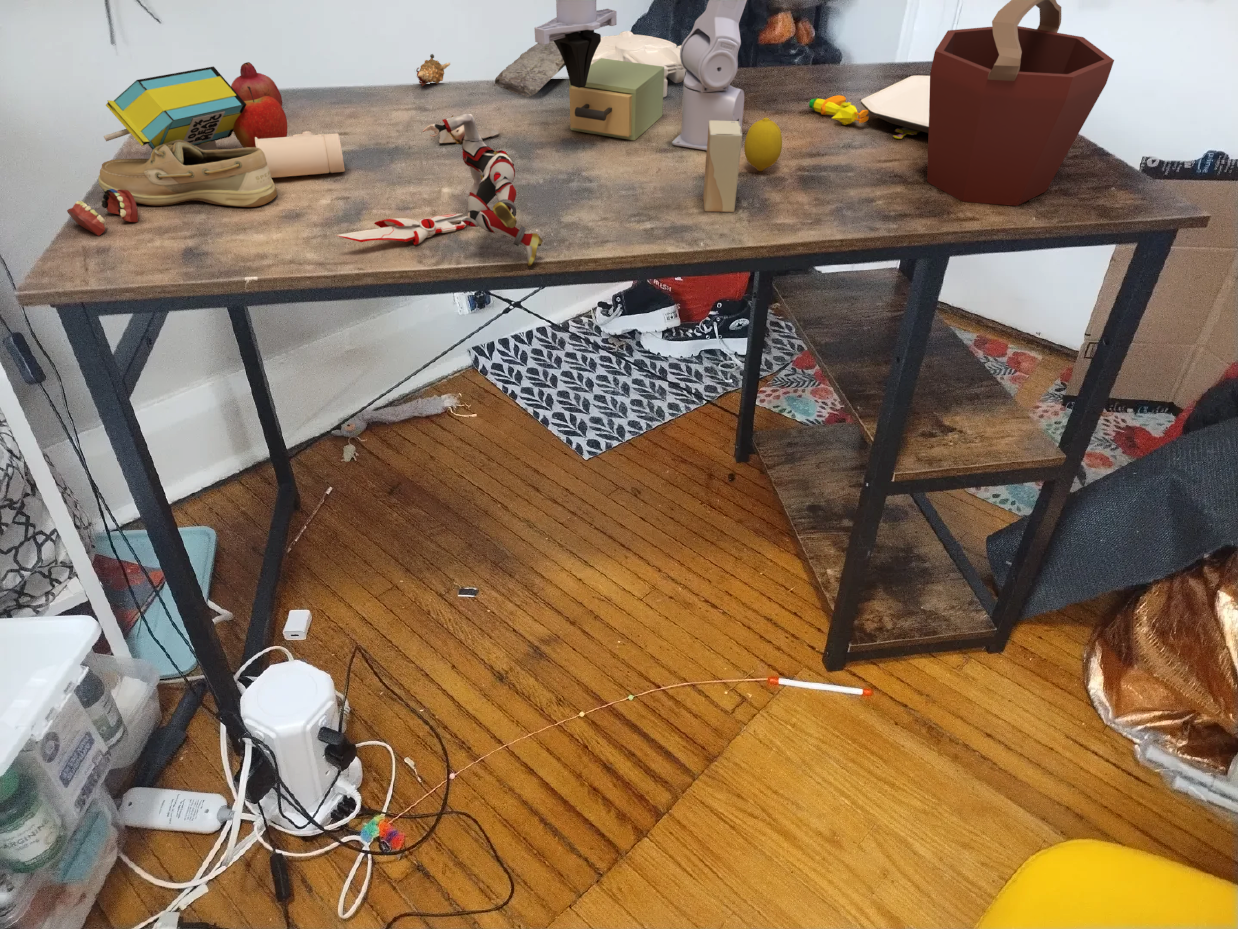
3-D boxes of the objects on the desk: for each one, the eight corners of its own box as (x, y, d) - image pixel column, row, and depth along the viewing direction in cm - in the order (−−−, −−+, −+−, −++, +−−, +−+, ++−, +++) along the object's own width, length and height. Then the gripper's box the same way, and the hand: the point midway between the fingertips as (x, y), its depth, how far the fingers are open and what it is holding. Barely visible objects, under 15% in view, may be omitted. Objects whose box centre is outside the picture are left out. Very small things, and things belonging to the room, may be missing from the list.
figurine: (397, 82, 161) (413, 103, 163) (415, 70, 158) (431, 92, 160) (435, 48, 169) (449, 69, 171) (452, 37, 166) (467, 58, 168)
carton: (195, 102, 135) (89, 124, 121) (212, 64, 130) (103, 83, 116) (229, 141, 135) (127, 167, 122) (247, 105, 130) (143, 128, 117)
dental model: (56, 197, 116) (115, 179, 121) (68, 227, 119) (125, 208, 124) (78, 210, 114) (137, 191, 119) (89, 240, 117) (147, 221, 121)
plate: (1014, 162, 136) (1019, 148, 134) (845, 117, 149) (848, 103, 148) (1073, 118, 153) (1078, 105, 152) (917, 82, 167) (920, 69, 166)
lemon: (777, 164, 137) (784, 111, 132) (779, 179, 133) (786, 125, 127) (741, 163, 137) (747, 110, 132) (742, 177, 133) (747, 123, 128)
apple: (249, 168, 134) (231, 100, 128) (233, 151, 139) (215, 85, 133) (301, 156, 138) (286, 90, 131) (284, 140, 143) (268, 75, 136)
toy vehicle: (547, 31, 169) (549, 66, 173) (599, 74, 152) (599, 111, 156) (657, 15, 176) (656, 48, 180) (719, 54, 159) (716, 90, 163)
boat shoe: (92, 202, 124) (70, 145, 119) (126, 176, 131) (107, 121, 126) (262, 215, 123) (248, 158, 117) (288, 188, 129) (275, 133, 124)
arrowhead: (439, 148, 142) (501, 145, 144) (439, 141, 141) (501, 137, 143) (436, 130, 145) (496, 127, 147) (435, 123, 144) (496, 120, 146)
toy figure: (880, 119, 149) (830, 104, 157) (880, 98, 147) (830, 83, 155) (849, 134, 147) (801, 118, 155) (849, 112, 145) (800, 97, 153)
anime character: (372, 317, 101) (314, 199, 115) (458, 374, 114) (396, 261, 127) (519, 179, 97) (440, 73, 110) (591, 255, 110) (512, 151, 123)
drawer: (619, 145, 140) (619, 104, 136) (559, 135, 143) (558, 95, 139) (654, 114, 151) (655, 75, 147) (598, 105, 154) (598, 67, 150)
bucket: (998, 231, 120) (1057, 33, 104) (868, 179, 133) (902, -4, 117) (1093, 181, 132) (1159, -4, 115) (965, 137, 145) (1008, -34, 128)
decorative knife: (928, 117, 152) (952, 125, 149) (927, 120, 152) (951, 128, 149) (883, 131, 146) (907, 140, 143) (883, 134, 147) (907, 143, 144)
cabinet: (634, 140, 144) (635, 89, 139) (570, 130, 148) (568, 79, 142) (662, 115, 153) (664, 66, 148) (601, 106, 156) (600, 57, 151)
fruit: (285, 132, 145) (270, 68, 139) (233, 136, 144) (216, 71, 138) (289, 115, 151) (275, 53, 145) (240, 118, 150) (223, 56, 144)
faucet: (254, 141, 125) (339, 134, 128) (255, 124, 135) (334, 119, 138) (263, 185, 128) (346, 178, 131) (264, 165, 138) (340, 159, 141)
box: (702, 196, 128) (708, 118, 121) (732, 197, 128) (740, 119, 120) (704, 212, 124) (710, 133, 117) (735, 213, 124) (742, 133, 116)
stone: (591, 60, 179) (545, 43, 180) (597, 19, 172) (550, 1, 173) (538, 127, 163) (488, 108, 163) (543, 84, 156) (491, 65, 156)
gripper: (557, -2, 118) (561, 103, 127) (632, -20, 126) (630, 80, 135) (522, -11, 122) (528, 91, 131) (597, -28, 130) (598, 70, 139)
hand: (578, 85), depth 133 cm, fingers closed
